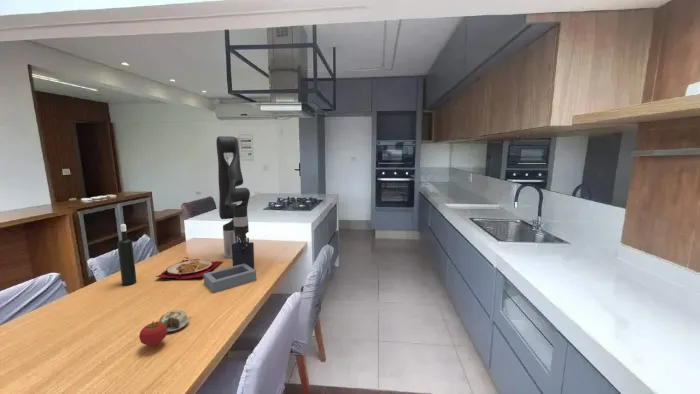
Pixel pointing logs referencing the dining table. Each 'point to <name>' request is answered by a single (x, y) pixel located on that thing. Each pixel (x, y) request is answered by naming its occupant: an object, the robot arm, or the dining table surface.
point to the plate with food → (189, 269)
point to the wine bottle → (126, 258)
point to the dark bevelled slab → (238, 255)
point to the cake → (174, 320)
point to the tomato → (153, 333)
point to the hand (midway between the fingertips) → (242, 253)
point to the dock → (229, 277)
